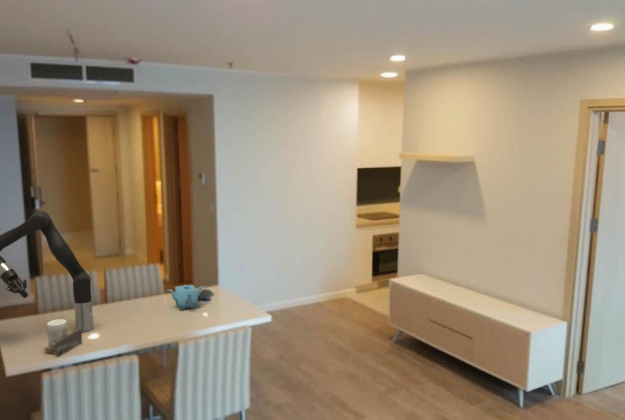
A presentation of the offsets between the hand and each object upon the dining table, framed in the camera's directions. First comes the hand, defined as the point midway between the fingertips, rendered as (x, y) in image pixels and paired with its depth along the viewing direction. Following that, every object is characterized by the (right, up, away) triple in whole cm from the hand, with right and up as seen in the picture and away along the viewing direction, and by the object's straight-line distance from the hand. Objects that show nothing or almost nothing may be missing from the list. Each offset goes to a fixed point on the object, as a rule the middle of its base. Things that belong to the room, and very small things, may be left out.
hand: (26, 296), depth 278 cm
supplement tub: (+19, -27, -3) cm, 33 cm away
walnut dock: (+22, -27, -3) cm, 35 cm away
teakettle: (+71, -18, +64) cm, 97 cm away
